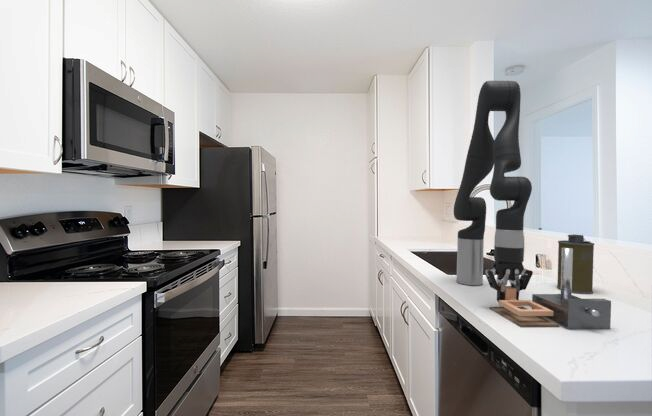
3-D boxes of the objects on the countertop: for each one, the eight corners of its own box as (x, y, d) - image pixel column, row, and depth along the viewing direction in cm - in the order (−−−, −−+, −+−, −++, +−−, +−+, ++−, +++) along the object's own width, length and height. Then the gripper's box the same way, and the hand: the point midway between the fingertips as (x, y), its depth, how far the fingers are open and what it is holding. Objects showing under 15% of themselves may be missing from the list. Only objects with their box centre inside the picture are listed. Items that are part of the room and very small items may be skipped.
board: (489, 308, 95) (489, 306, 95) (522, 308, 95) (522, 306, 95) (520, 327, 81) (520, 324, 81) (559, 326, 81) (559, 324, 81)
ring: (489, 299, 96) (490, 285, 96) (519, 299, 96) (519, 285, 96) (519, 315, 82) (519, 300, 82) (553, 315, 83) (553, 300, 83)
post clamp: (531, 311, 93) (533, 245, 93) (568, 311, 93) (570, 245, 93) (574, 332, 78) (576, 254, 78) (617, 332, 79) (620, 254, 78)
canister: (578, 295, 111) (579, 236, 110) (549, 287, 121) (551, 233, 120) (601, 293, 113) (603, 236, 113) (571, 285, 123) (573, 233, 123)
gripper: (523, 243, 98) (522, 299, 99) (478, 243, 98) (477, 300, 98) (541, 247, 91) (539, 308, 91) (492, 246, 90) (491, 308, 91)
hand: (507, 303), depth 95 cm, fingers closed on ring, 3 cm apart
